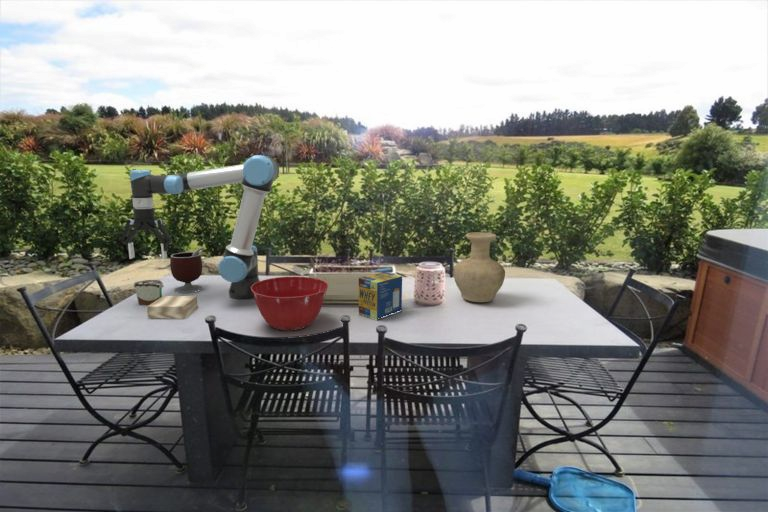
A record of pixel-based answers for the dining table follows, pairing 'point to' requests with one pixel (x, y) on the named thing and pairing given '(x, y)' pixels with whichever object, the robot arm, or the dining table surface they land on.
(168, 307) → the birch platform
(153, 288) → the food container
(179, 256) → the mate gourd
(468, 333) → the dining table surface
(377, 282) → the protein box
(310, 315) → the mixing bowl
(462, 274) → the vase
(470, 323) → the dining table surface
